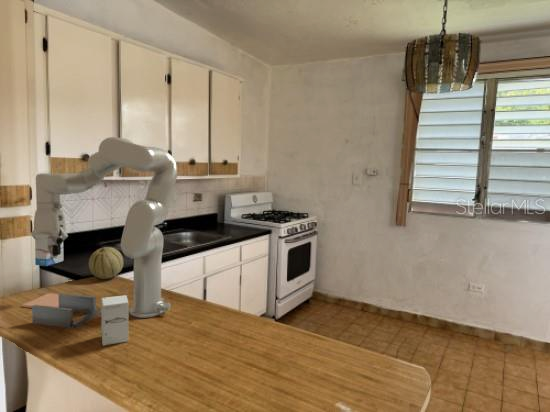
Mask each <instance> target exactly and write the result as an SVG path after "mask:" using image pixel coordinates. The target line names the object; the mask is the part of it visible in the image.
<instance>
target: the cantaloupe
mask: <svg viewBox="0 0 550 412" xmlns="http://www.w3.org/2000/svg"><path fill="white" fill-rule="evenodd" d="M123 267H124V258H123V255H122V254H121V252H120V251H119V250H118V249H116V248H115V247H111V246H104V247H100V248H98V249H96V250H95V251H94V252H93V253H92V254H91V255H90V257H89V259H88V268H89V271H90V273H91V274H92V275H93V276H94V277H96V278H98V279H101V280H106V279H112V278H113V277H116V276H118V274H119V273H121V272H122V269H123Z"/></svg>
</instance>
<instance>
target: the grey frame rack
mask: <svg viewBox="0 0 550 412" xmlns="http://www.w3.org/2000/svg"><path fill="white" fill-rule="evenodd" d="M57 294H58V296H59V307H51V306H42V305H33V306H32V308H31V310H32V311H31V313H32V315H31V316H32V324H34V325H42V326H43V325H44V326H50V327H51V326H52V327H59V328H68V329H69V328H70V329H78V328H79V327H81V326H82V325H84V324H85V323H87V322H88V321H90V320H91V319H94V318H96V316H99V315H101V308H97V300H96V299H97V297H96V296H93V295H86V294H85V295H83V294H75V293H74V294H73V293H64V292H60V293H57ZM74 313H83V314H86V315H84V316H83V317H81V318H80V319H78V320H76V321H74Z"/></svg>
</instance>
